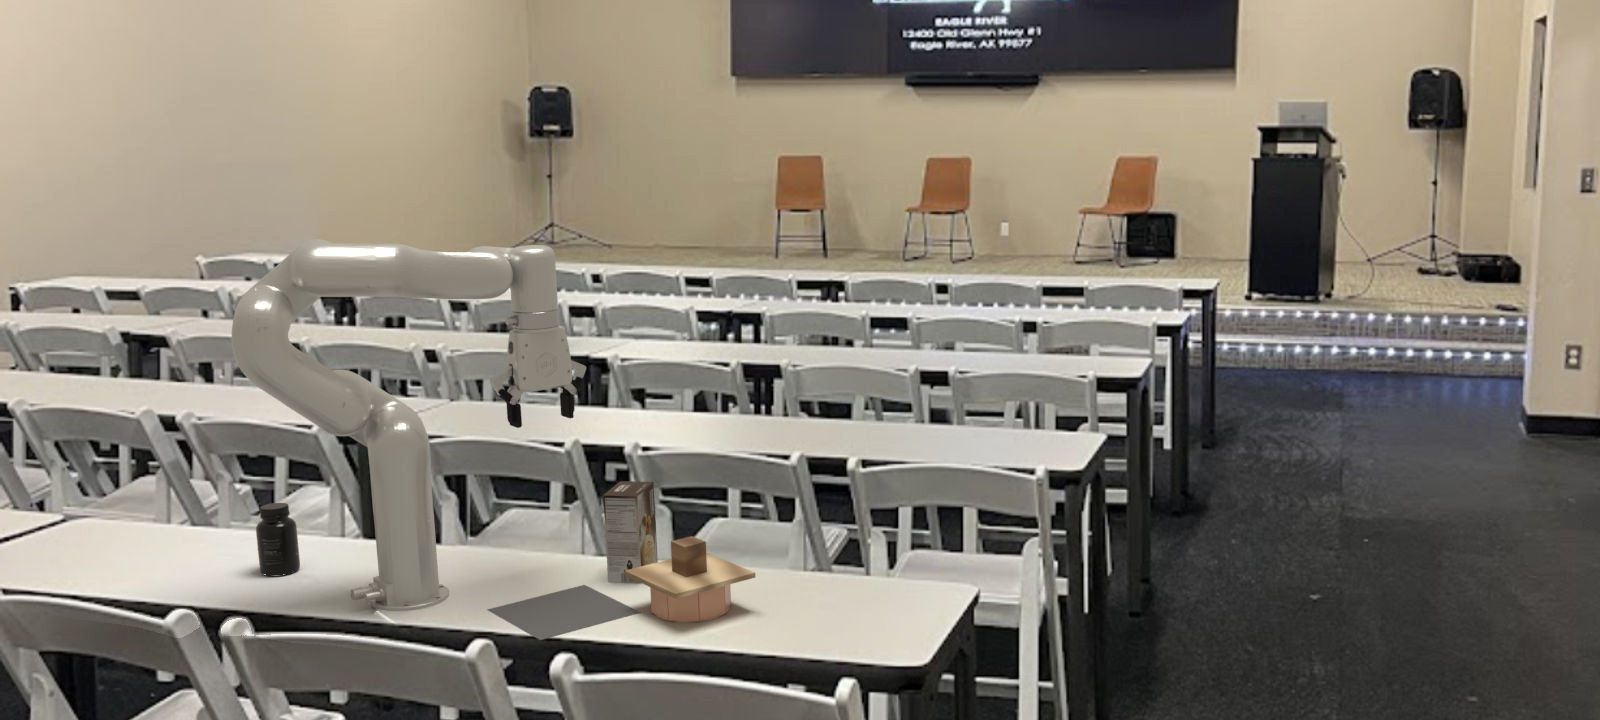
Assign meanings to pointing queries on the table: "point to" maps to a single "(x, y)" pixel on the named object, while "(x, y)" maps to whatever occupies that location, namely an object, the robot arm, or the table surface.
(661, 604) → the bowl
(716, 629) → the table surface
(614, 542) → the coffee box
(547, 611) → the mat
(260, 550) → the supplement bottle
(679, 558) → the lid
